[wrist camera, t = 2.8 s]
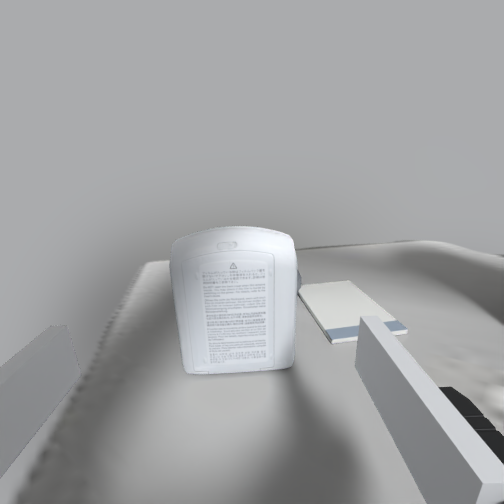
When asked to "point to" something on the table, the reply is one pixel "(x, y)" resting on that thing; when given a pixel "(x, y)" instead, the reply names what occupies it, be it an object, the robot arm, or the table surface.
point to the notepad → (343, 310)
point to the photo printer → (235, 299)
